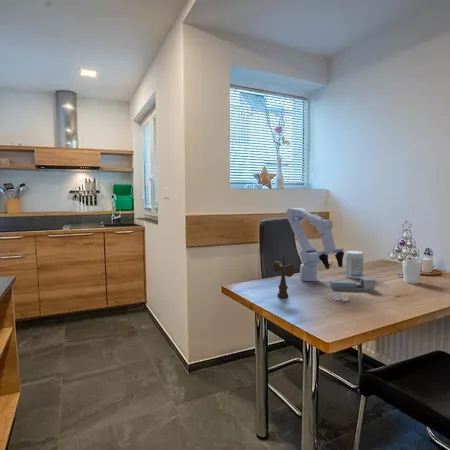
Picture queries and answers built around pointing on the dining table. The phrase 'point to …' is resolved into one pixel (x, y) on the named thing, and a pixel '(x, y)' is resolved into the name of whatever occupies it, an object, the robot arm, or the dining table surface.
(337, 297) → the teacup and saucer
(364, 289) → the track
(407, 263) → the cup
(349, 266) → the supplement tub
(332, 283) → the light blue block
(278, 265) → the kendama
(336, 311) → the dining table surface
